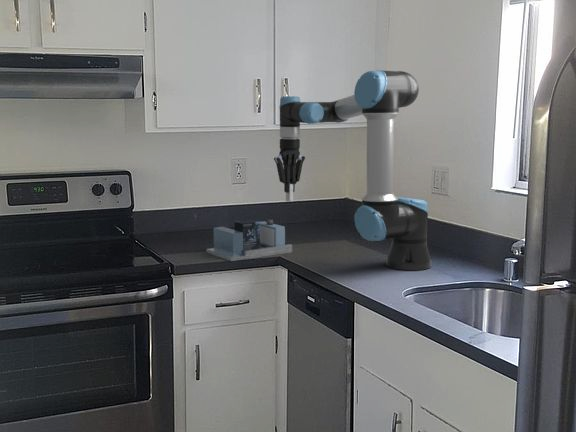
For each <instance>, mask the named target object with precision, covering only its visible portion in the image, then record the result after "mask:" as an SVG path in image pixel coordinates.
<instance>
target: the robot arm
mask: <svg viewBox="0 0 576 432" xmlns="http://www.w3.org/2000/svg"><path fill="white" fill-rule="evenodd" d="M419 91H420V87H419V83H418V80H417V79H416V78H415V76H414V75H412V74H411V73H410V72H406V71H403V70H401V71H400V70H399V71H397V70H383V69H382V70H378V69H377V70H369V71H366V72H364V73H362V75H361V76H360V77H359V78H358V79H357V82H356V84H355V86H354V93H353V95H350V96H347V97H343V98H340V99H337V100H334V101H325V102H324V101H301V97H299V96H295V95H294V96H290V95H289V96H287V95H286V96H281V97H280V100H279V108H278V109H279V138H280V139H279V149H280V151H279V155H277V156H276V157H275V156H274V158H273V160H274V162H275V163H276V169H277V173H278V179H279V182H280V183H282V184H284V185H283V186H284V187H283V189H284V193H285V201H287V202H293V201H294V193H295V191H296V190H295V186H296V184H297V183H298V182H300V179H301V174H302V169H303V164H304V161H305V160H306V157H305V156H303V155H302V154H301V151H300V148H301V146H300V145H301V143H300V142H301V140H300V138H301V124H309V125H311V124H312V125H313V124H321V123H323V124H324V123H335V124H336V123H339V124H340V123H345V122H347V121H349V119H351V118H355V117H359V116H363V117H364V118H365V119H366V194H365V195H364V196H363V197H362V199H361V205H360V207H358V208H357V210H356V211H355V213H354V224H355V225H354V226H355V228H356V230H357V232H358V233H359V234H360V236H361V237H362V238H363V239H364V240H367V241H368V242H377V241H378V242H380V241H383V240H384V241H385V240H389V239H391V244H390V246H389V247H390V248H389V251H388V255H387V256H386V260H385V266H387V268H391V269H394V270H402V271H422V270H427V269H431V267H432V259H431V257H430V252H429V248H428V244H427V243H428V242H427V240H428V238H427V237H428V220H429V219H428V215H429V211H428V202H427V201H425V199H424V200H423V199H418V198H411V197H402V196H396V195H395V193H394V177H395V176H394V174H395V173H394V168H395V167H394V160H395V159H394V156H395V155H394V154H395V153H394V152H395V149H394V148H395V145H394V143H395V142H394V141H395V139H394V138H395V132H394V131H395V129H394V128H395V119H396V117H397V116H398V115H399V113H400V109H399V108H405V107H408V106H410V105H412V104H413V103H414V102H415V101H416V100H417V98H418V95H419Z"/></svg>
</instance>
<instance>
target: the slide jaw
mask: <svg viewBox="0 0 576 432" xmlns="http://www.w3.org/2000/svg"><path fill="white" fill-rule="evenodd" d="M260 245H263V246H267V247H274V246H281V245H286V227H285V226H284V225H280V224H276V223H274V219H266V221H260Z"/></svg>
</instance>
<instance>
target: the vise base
mask: <svg viewBox="0 0 576 432" xmlns="http://www.w3.org/2000/svg"><path fill="white" fill-rule="evenodd" d="M206 253H207V254H210V255H213V256H216V257H219V258H222V259H224V260H227V261H230V262H234V261H242V260H248V259H256V258H262V257H268V256H269V257H270V256H276V255H284V254H290V253H293V244H291V243H290V244H285V245H281V246H274V247H267V246H263V245H260V248H259V249H252V250H244V251H243V232H239V231H236V230H235V229H232V228H229V227H225V226H217V227H213V247H212V248H206Z"/></svg>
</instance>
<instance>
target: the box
mask: <svg viewBox="0 0 576 432" xmlns="http://www.w3.org/2000/svg"><path fill="white" fill-rule="evenodd" d="M260 222H261V221H259V220H256V219H246V220H244V219H243V220H235V221H234V230H236V231H239V232H243V251H244V250H252V249H259V248H260Z"/></svg>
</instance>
